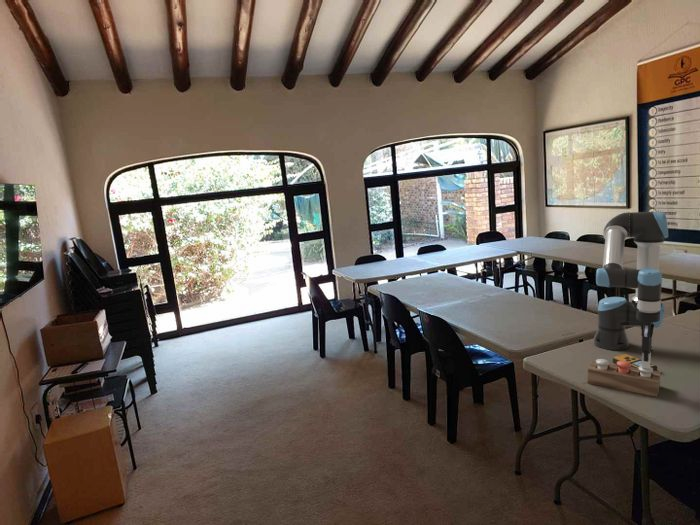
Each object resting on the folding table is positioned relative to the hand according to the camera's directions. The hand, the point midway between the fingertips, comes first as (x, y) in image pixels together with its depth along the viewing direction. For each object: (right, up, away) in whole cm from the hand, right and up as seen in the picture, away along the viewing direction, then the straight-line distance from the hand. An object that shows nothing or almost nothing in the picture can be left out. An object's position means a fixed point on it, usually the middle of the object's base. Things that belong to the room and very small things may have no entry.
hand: (645, 367), depth 179 cm
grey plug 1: (-11, -7, +11) cm, 17 cm away
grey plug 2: (+1, -8, +1) cm, 8 cm away
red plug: (-5, -7, +6) cm, 10 cm away
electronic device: (+8, -5, +21) cm, 23 cm away
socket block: (-5, -8, +6) cm, 12 cm away
